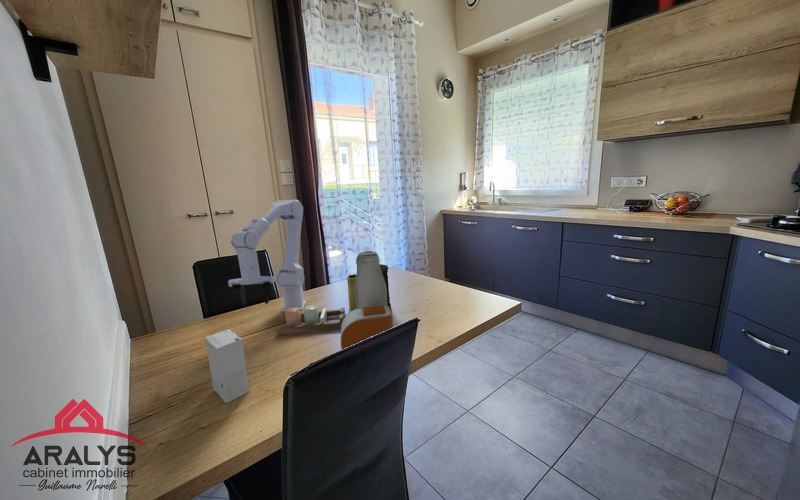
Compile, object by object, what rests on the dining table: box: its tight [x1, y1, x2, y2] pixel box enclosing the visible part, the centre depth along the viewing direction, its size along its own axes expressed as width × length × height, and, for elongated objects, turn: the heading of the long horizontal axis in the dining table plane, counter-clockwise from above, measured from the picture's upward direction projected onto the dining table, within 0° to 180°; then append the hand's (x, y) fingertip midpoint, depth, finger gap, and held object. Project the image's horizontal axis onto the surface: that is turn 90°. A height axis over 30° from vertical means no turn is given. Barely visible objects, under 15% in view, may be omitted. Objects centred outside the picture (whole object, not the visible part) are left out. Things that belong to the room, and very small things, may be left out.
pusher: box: [319, 307, 347, 323], centre depth 109 cm, size 8×14×4 cm, turn 97°
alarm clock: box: [340, 305, 393, 350], centre depth 88 cm, size 15×8×14 cm, turn 100°
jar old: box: [302, 304, 321, 325], centre depth 108 cm, size 5×5×6 cm
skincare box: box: [204, 328, 250, 404], centre depth 74 cm, size 8×6×15 cm
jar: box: [284, 307, 303, 326], centre depth 107 cm, size 5×5×6 cm
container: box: [380, 263, 392, 311], centre depth 115 cm, size 9×9×18 cm
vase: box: [346, 273, 357, 313], centre depth 118 cm, size 6×6×14 cm
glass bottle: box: [354, 250, 387, 309], centre depth 98 cm, size 10×10×28 cm
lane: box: [276, 307, 346, 336], centre depth 108 cm, size 11×22×4 cm, turn 97°
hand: (255, 303), depth 105 cm, fingers open, 7 cm apart
